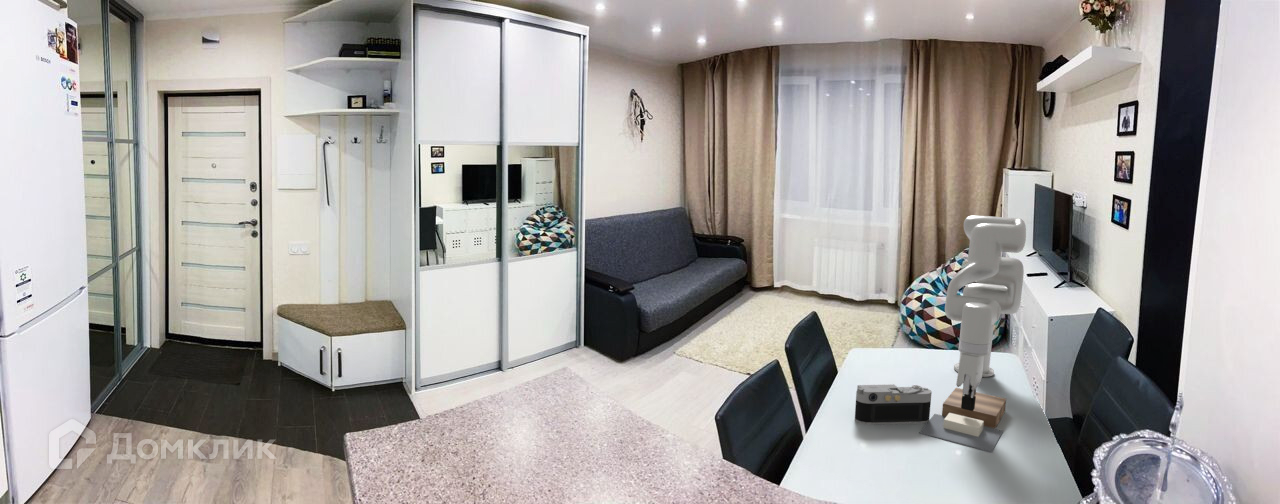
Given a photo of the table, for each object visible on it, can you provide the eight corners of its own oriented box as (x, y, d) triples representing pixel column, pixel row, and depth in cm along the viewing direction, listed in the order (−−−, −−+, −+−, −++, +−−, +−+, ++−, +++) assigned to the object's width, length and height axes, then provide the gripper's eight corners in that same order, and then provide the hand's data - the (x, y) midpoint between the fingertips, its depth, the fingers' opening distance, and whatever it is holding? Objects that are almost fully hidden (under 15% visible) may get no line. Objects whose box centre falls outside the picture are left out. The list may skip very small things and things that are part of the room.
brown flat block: (954, 399, 205) (955, 387, 204) (1005, 411, 196) (1006, 398, 196) (941, 416, 192) (942, 403, 192) (994, 429, 184) (996, 416, 183)
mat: (934, 414, 194) (934, 413, 193) (1002, 431, 183) (1002, 430, 183) (919, 433, 181) (919, 432, 181) (991, 452, 170) (991, 451, 170)
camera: (918, 410, 196) (920, 379, 195) (934, 424, 187) (937, 391, 185) (847, 412, 195) (849, 380, 193) (860, 426, 185) (862, 392, 184)
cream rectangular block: (944, 419, 184) (943, 427, 184) (979, 428, 178) (978, 436, 179) (949, 412, 188) (948, 420, 189) (983, 420, 183) (983, 429, 183)
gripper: (965, 338, 191) (959, 397, 194) (952, 350, 179) (946, 414, 182) (994, 343, 186) (987, 404, 189) (983, 356, 175) (976, 421, 178)
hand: (967, 408), depth 186 cm, fingers closed
